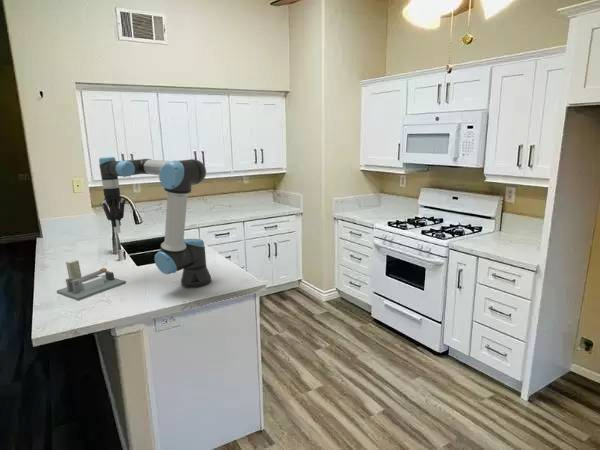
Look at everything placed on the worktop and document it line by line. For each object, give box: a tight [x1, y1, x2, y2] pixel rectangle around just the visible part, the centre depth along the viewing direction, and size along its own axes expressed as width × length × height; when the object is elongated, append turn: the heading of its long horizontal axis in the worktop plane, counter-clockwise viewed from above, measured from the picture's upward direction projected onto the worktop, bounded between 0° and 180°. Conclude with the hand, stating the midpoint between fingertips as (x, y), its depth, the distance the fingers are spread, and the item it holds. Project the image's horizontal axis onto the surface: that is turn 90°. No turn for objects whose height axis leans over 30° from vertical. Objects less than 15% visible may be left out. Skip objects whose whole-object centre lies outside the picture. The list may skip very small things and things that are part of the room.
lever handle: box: [75, 267, 108, 282], centre depth 199 cm, size 3×16×2 cm, turn 147°
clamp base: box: [56, 270, 127, 301], centre depth 199 cm, size 20×25×8 cm
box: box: [65, 259, 83, 280], centre depth 211 cm, size 5×4×11 cm
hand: (117, 232), depth 204 cm, fingers closed
